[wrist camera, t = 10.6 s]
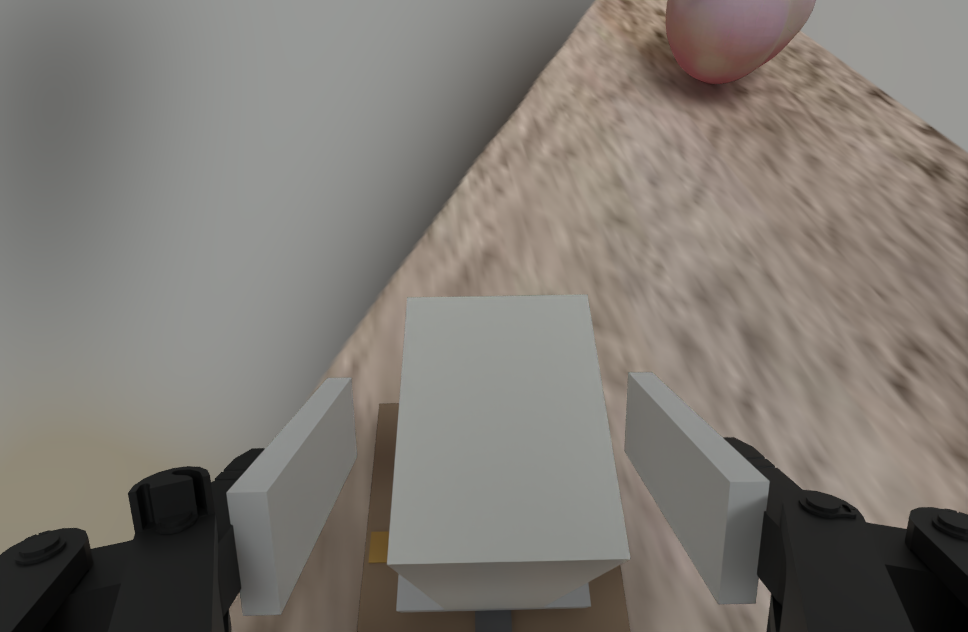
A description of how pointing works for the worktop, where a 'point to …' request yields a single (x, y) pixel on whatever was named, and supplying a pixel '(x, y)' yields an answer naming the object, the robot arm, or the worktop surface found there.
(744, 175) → the worktop surface
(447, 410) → the block
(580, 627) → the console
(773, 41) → the decorative fruit
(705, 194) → the worktop surface
